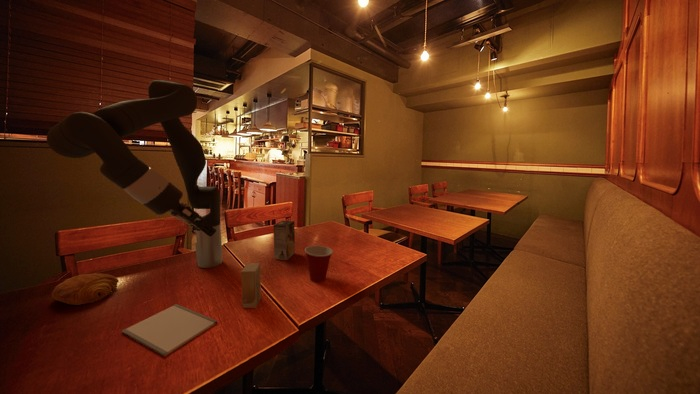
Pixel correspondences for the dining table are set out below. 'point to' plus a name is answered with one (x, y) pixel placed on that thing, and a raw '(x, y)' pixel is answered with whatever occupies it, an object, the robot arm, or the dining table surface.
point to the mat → (169, 329)
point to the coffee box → (284, 240)
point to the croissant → (85, 288)
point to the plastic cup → (318, 262)
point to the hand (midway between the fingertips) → (207, 230)
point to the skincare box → (251, 285)
